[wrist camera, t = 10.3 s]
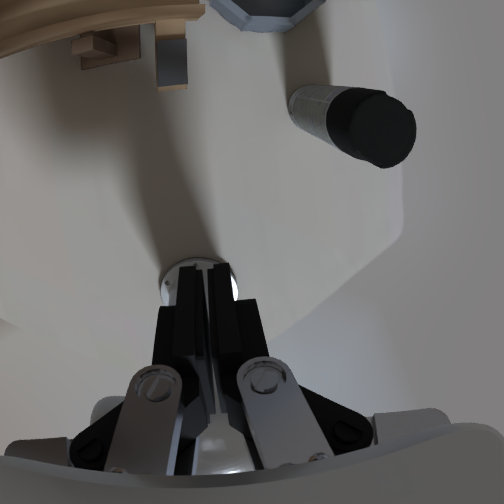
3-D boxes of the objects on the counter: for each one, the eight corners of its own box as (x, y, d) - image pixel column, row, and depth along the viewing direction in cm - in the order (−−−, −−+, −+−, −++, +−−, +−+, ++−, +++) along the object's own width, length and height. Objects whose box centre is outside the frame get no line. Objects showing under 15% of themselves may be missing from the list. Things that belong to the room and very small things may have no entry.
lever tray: (192, 88, 32) (206, 87, 27) (-1, 129, 25) (-23, 137, 20) (191, -54, 22) (205, -77, 17) (0, -18, 15) (-19, -33, 10)
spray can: (320, 139, 41) (396, 184, 24) (277, 118, 39) (334, 146, 22) (341, 99, 38) (431, 119, 21) (299, 75, 36) (372, 73, 19)
